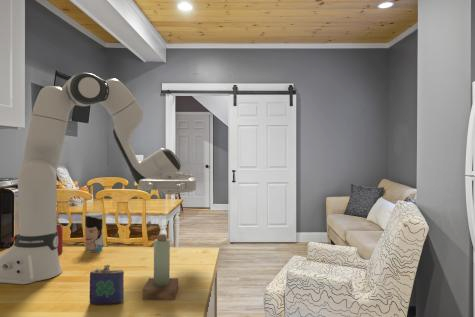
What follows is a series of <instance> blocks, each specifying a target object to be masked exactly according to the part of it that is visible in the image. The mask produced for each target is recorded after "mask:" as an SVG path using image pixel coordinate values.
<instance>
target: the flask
mask: <svg viewBox="0 0 475 317" xmlns="http://www.w3.org/2000/svg"><path fill="white" fill-rule="evenodd" d="M110 267H111V265H110V264H106V265H104V266H103V268H102V269H100V268H96V269H94V270H91V271H90V272H89V305H91V306H105V305H108V306H109V305H110V306H111V305H119V304H120V305H122V304H123V303H124V300H125V296H124V295H125V294H124V290H125V288H124V287H125V286H124V283H125V282H124V281H125V280H124V274H125V271H124V270H123V269H116V270H114V269H113V270H110Z"/></svg>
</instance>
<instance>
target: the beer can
mask: <svg viewBox="0 0 475 317" xmlns="http://www.w3.org/2000/svg"><path fill="white" fill-rule="evenodd" d="M56 230H57V231H58V247H57V251H58V255H60V254H62V253H63V226H62V223H61V222H56Z"/></svg>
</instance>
